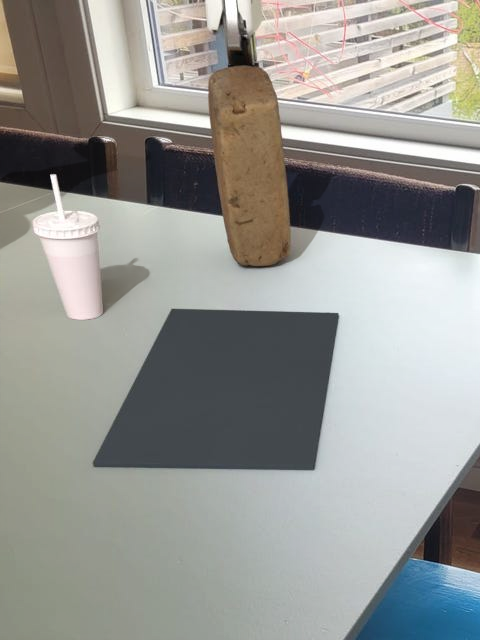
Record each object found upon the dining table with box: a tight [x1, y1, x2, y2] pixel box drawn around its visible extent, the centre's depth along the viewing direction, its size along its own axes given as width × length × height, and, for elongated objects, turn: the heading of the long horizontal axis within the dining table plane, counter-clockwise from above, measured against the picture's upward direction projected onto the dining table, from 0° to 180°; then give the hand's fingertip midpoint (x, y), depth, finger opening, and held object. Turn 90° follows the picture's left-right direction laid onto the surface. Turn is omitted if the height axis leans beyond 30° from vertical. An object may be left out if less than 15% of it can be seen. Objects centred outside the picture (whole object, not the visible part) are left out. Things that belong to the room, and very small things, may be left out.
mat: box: [92, 308, 340, 471], centre depth 95 cm, size 18×34×1 cm, turn 3°
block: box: [207, 65, 292, 267], centre depth 114 cm, size 11×8×20 cm
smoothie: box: [32, 173, 104, 321], centre depth 102 cm, size 6×6×14 cm
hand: (247, 103), depth 113 cm, fingers closed
